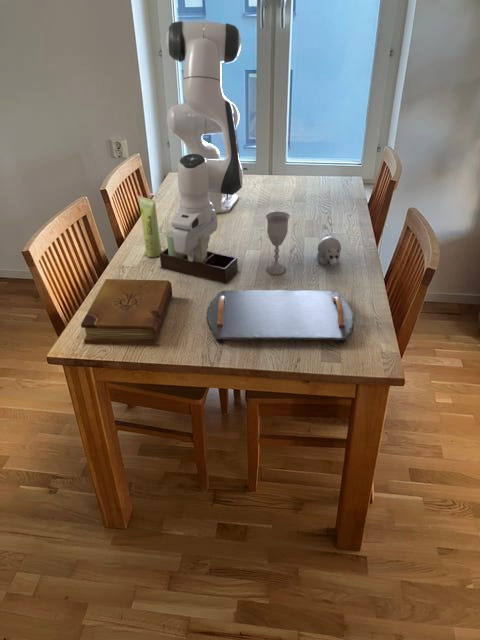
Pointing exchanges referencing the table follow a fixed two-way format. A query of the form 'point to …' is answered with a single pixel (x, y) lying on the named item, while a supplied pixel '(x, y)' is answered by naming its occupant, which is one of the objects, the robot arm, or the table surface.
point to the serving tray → (280, 315)
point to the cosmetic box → (201, 250)
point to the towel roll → (172, 245)
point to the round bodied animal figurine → (329, 251)
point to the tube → (150, 226)
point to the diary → (128, 312)
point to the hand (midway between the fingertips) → (198, 254)
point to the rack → (202, 266)
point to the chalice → (277, 236)
